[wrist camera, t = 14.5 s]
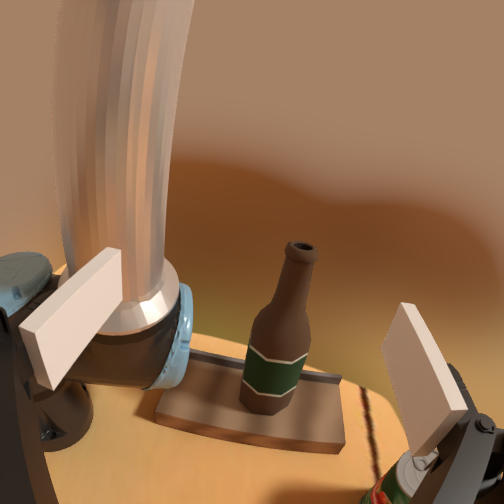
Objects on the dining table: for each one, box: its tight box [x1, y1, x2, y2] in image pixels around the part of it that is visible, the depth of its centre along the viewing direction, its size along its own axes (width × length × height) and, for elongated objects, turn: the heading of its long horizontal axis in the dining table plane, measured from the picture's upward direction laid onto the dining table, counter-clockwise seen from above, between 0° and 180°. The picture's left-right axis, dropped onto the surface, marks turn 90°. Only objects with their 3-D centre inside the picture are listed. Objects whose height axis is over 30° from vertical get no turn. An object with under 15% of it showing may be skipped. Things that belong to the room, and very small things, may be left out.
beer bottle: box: [239, 241, 318, 416], centre depth 39 cm, size 8×8×24 cm
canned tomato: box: [358, 450, 439, 504], centre depth 27 cm, size 8×8×11 cm
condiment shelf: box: [155, 348, 346, 454], centre depth 44 cm, size 26×13×4 cm, turn 83°
